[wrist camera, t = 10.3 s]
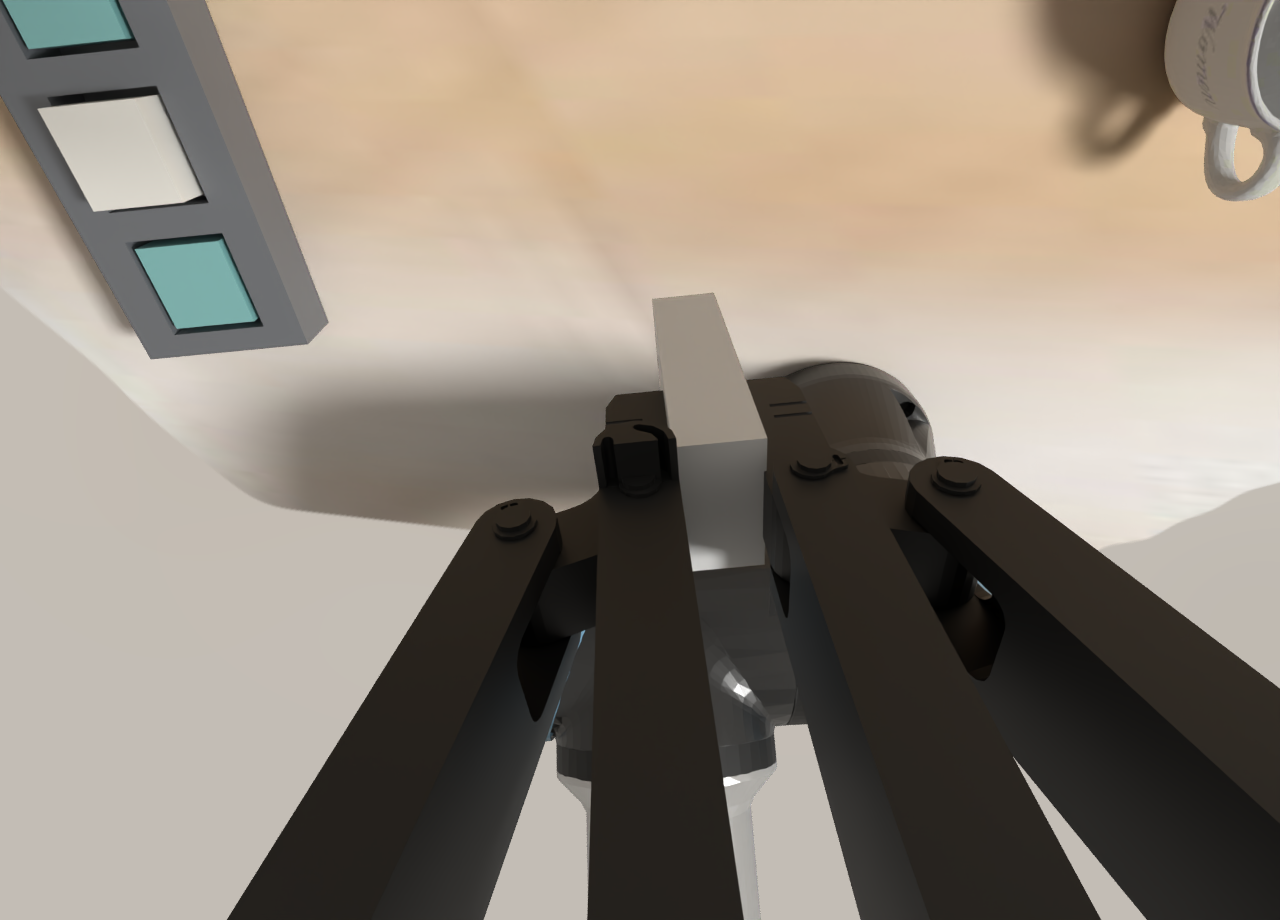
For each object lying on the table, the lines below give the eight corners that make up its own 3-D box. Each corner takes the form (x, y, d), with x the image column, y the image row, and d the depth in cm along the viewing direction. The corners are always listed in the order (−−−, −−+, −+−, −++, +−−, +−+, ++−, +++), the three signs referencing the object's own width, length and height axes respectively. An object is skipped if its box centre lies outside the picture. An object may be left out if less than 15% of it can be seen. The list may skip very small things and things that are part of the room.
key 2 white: (207, 192, 36) (182, 202, 34) (122, 201, 36) (93, 211, 34) (163, 93, 33) (134, 98, 31) (71, 103, 33) (37, 108, 31)
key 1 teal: (271, 306, 41) (254, 321, 39) (197, 313, 41) (176, 328, 39) (238, 229, 38) (217, 241, 36) (159, 237, 38) (134, 249, 36)
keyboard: (328, 322, 43) (307, 344, 40) (181, 336, 43) (150, 359, 40) (59, -378, 26) (-10, -428, 23) (-180, -349, 26) (-279, -395, 23)
